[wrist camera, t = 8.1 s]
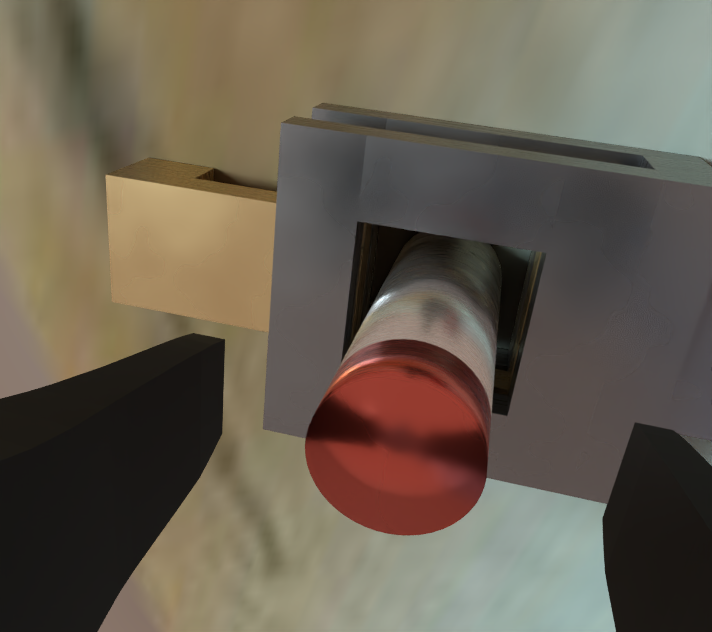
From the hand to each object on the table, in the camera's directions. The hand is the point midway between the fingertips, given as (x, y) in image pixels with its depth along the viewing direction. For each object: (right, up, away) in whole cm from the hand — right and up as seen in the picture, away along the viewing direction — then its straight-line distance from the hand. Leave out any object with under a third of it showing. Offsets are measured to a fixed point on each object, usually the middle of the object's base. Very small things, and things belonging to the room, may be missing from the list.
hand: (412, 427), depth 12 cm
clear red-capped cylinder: (+2, +3, +7) cm, 8 cm away
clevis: (+2, +3, +7) cm, 8 cm away
